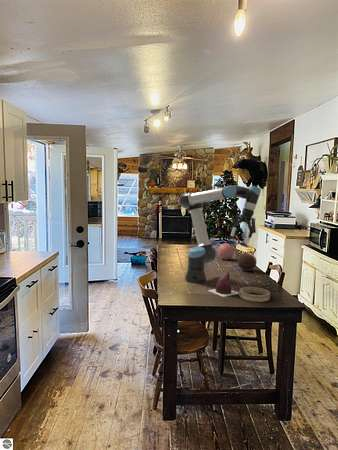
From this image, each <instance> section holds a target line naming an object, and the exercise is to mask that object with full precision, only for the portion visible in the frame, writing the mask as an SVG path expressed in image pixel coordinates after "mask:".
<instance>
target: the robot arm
mask: <svg viewBox="0 0 338 450" xmlns="http://www.w3.org/2000/svg"><path fill="white" fill-rule="evenodd" d="M261 191H262V189H261V188H260V187H258V186H255V185H250V187H245V186H241V185H235V184H233V185H227V186H224V187H218V188H215V189H208V190H203V191H197V192H191V191H190V192H183V193H181V194H180V196H179V198H178V203H179V206H180V207H182V208H183V209H187V212H188V213H189V214H190V217H191V221H192V225H193V229H194V233H195V238H196V241H197V245H196V246H193V247H190V248H189V250H188V253H187V254H188V258H187V259H188V260H187V262H188V263H187V269H186V270H187V271H186V275H185V276H184V280H185V281H186V282H188V283H192V284H193V283H195V284H201V283H206V281H207V276H206V271H205V264H209V263H212V262H214V261H215V260H216V259H217V255H218V250H217V249H216V248H215V247H214V246H213V243H212V242H210V239H209V236H208V232H207V231H208V230H207V227H206V223H205V219H204V214H203V210H204V206H203V205H204V203H208V202H213V201H218V200H223V199H231V198H241V199H243V200H244V199H245V202H244V205H243V208H242V212H241V213H238V214H237V215H236V217H234V219H233V220H232V222H231V223H230V226H232V227H231V230H230V231H231V233H230V237H235V234H236V230H237V226H239V225H240V224H241V223H246V224H247V228H248V231H249V232H247V236H246V239H245V243H250V239H251V238H253V237H252V236H253V234H256V232H257V231H256V218H255V217H253V216H254V213H255V210H256V207H257V205H258V204H257V203H258V201H259V199H260V195H261Z"/></svg>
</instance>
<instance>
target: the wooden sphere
mask: <svg viewBox="0 0 338 450" xmlns="http://www.w3.org/2000/svg"><path fill="white" fill-rule="evenodd" d="M237 264H238V267H239V268H240V269H241V270H243V271H245V272H249V271H253V269H255V267H256V266H257V258H256V256H255V255H254V254H253V253H250V252H243V253H241V254H240V255H239V256H238V258H237Z"/></svg>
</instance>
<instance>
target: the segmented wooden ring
mask: <svg viewBox="0 0 338 450" xmlns="http://www.w3.org/2000/svg"><path fill="white" fill-rule="evenodd" d="M238 293H239V294H238V296H239V297H240V298H241V299H243V300H246V301H250V302H263V303H264V302H267V301H270V298H271V292H270V290H268V289H264V288H262V287H258V286H257V287H255V286H245V287H244V286H243V287H241V288H240V289H239V292H238ZM250 293H251V294H250Z"/></svg>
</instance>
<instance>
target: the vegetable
mask: <svg viewBox="0 0 338 450" xmlns="http://www.w3.org/2000/svg"><path fill="white" fill-rule="evenodd" d="M215 289H216V292H218V293H220V294H230V293H231V290H232V282H231V280H230V272H229V271H227V272H226V273H224V274H223V275H222V276H220V277H219V278H218V280H217V283H216V286H215Z"/></svg>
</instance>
